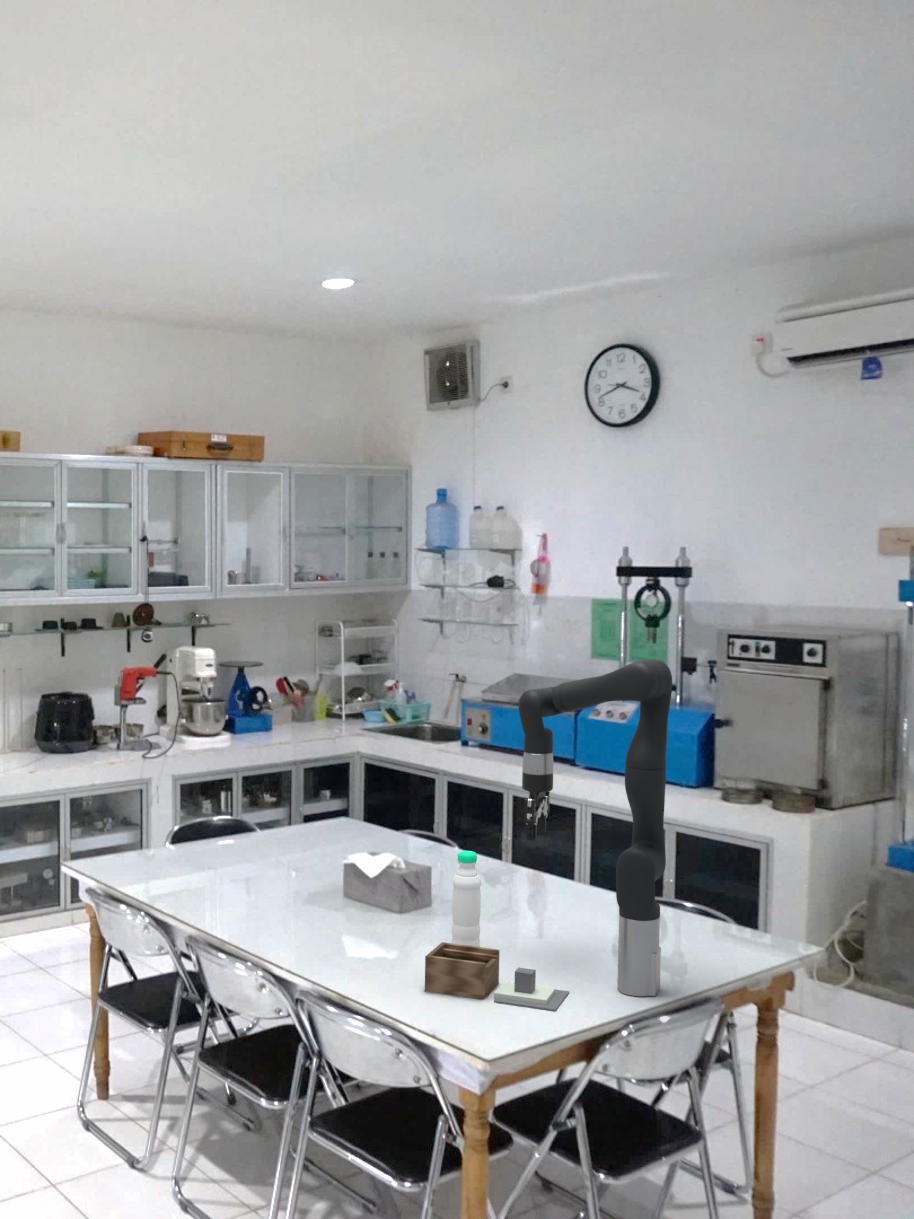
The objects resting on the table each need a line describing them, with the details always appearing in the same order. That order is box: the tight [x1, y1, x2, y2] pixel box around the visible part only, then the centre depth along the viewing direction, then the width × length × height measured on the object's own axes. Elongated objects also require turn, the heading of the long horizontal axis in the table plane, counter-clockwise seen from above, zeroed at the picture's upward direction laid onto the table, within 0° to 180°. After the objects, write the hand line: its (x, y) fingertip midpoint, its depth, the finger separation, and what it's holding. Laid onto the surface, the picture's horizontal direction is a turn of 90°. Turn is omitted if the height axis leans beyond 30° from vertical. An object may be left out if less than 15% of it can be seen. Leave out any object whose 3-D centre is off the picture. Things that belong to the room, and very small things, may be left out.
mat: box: [493, 988, 570, 1012], centre depth 272 cm, size 14×12×1 cm
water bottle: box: [451, 850, 482, 947], centre depth 302 cm, size 7×7×25 cm
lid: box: [493, 967, 556, 1005], centre depth 273 cm, size 12×8×6 cm, turn 71°
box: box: [424, 941, 500, 1001], centre depth 278 cm, size 14×11×8 cm
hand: (536, 836), depth 298 cm, fingers open, 8 cm apart
